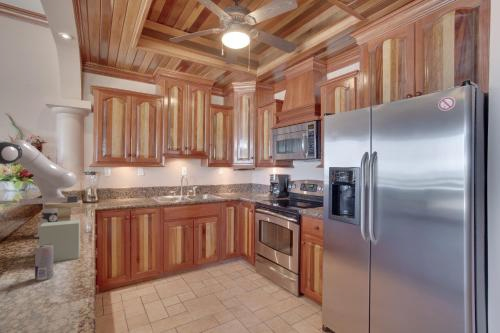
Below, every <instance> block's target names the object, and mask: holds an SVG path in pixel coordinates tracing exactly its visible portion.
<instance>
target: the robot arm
mask: <svg viewBox="0 0 500 333" xmlns="http://www.w3.org/2000/svg"><path fill="white" fill-rule="evenodd" d="M14 162H16V163H17V164H18V165H20V167H22V169H25V170H26V171H27V172H29V173H30V174H31V175H33V177H32V182H33V184H34V185H35V186H36V187H37V188H38V190H39V192H40V195H41V198H54V197H66V196H65V195H64V194H63V193H62V191H61V190H62V189H63V190H64V189H69V188H72V187H74V186H75V185H76V183H77V176H76V174H75V173H74V172H72V171H70V170H67V169H65V168H63V167H62V166H60V165H58V164H57V163H55V162H53V161H51V160H50V159H49V158H47V157H46V156H45V154H43V153H42V152H41V151H40V150H38V149H37V148H36V147H35V146H33V144H31V143H29V142H28V141H27V140H24V139H14V140H12V141H10V142H9V141H8V142H7V141H0V165H9V164H12V163H14ZM45 204H46V203H45ZM7 217H8V216H7V215H6V213H2V214H0V221H1V220H3V219H5V218H7ZM47 222H57V208H51V209H44V204H42V213H41V220H40V221H39V222H38V226H37V233H36V234H34V235H33V236H34V238H39V227H40V226H41V225H42V224H43V223H47Z"/></svg>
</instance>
